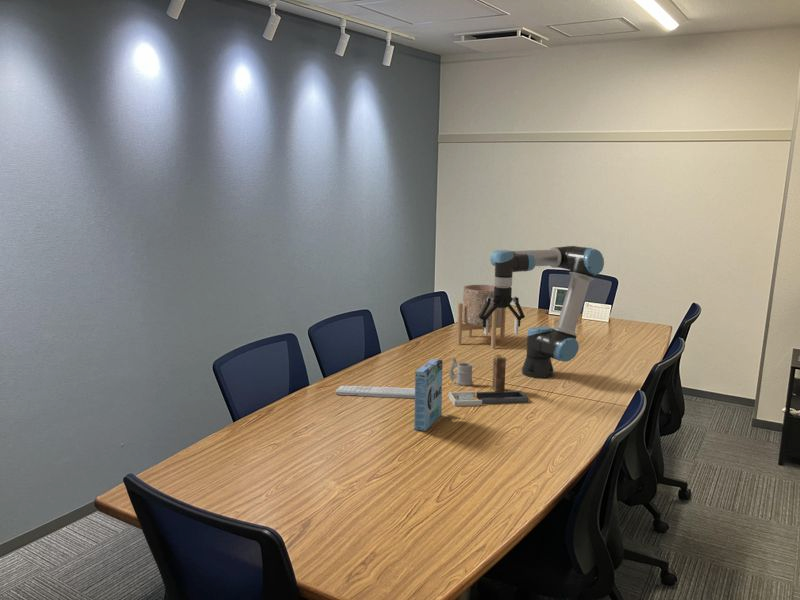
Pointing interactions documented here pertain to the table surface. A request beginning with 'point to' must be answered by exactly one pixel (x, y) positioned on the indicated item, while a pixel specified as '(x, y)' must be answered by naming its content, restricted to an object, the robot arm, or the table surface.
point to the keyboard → (376, 391)
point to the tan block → (499, 372)
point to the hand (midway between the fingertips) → (500, 334)
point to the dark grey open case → (502, 397)
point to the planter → (471, 309)
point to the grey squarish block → (461, 396)
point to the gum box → (428, 394)
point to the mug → (462, 373)
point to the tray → (463, 402)
